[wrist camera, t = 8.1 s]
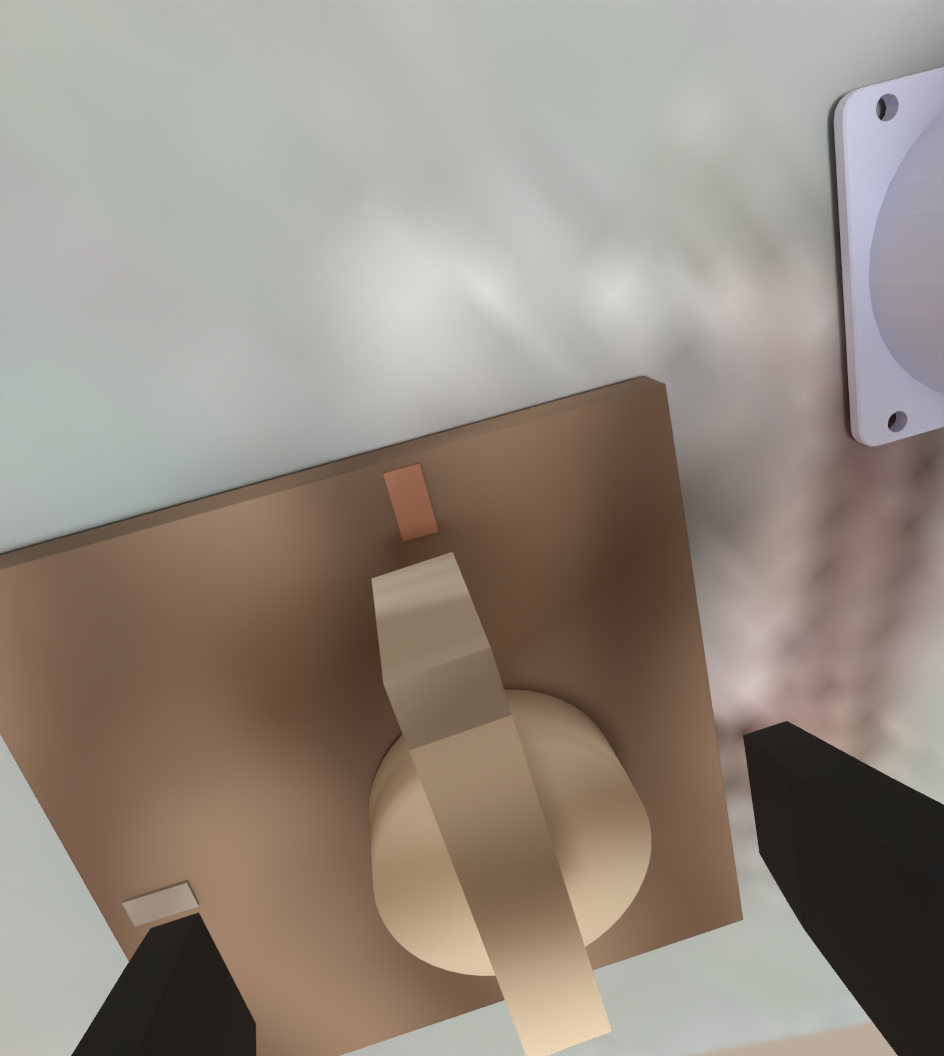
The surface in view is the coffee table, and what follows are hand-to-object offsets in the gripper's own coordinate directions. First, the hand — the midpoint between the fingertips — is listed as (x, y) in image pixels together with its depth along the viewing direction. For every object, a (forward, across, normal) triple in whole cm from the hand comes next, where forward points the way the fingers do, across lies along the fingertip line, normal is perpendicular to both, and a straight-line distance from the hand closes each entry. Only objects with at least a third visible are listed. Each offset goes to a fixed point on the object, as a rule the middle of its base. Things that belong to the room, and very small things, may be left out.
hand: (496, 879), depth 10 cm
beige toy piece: (+8, 0, +3) cm, 9 cm away
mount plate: (+9, +2, +5) cm, 11 cm away
